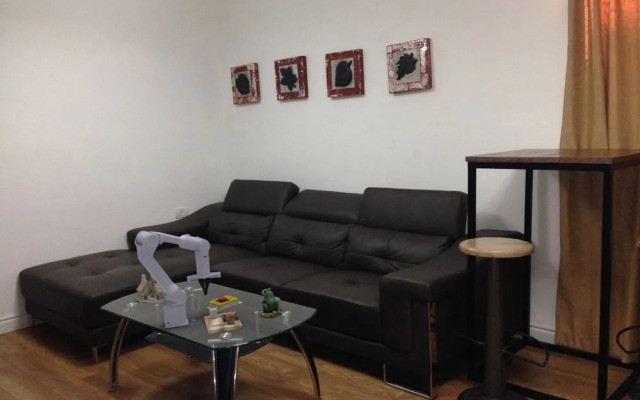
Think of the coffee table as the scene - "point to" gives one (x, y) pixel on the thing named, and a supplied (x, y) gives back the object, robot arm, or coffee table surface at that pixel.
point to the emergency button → (224, 303)
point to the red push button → (229, 313)
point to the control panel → (221, 323)
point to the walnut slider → (230, 318)
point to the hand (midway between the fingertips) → (205, 294)
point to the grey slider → (213, 313)
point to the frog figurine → (270, 305)
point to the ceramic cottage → (149, 291)
